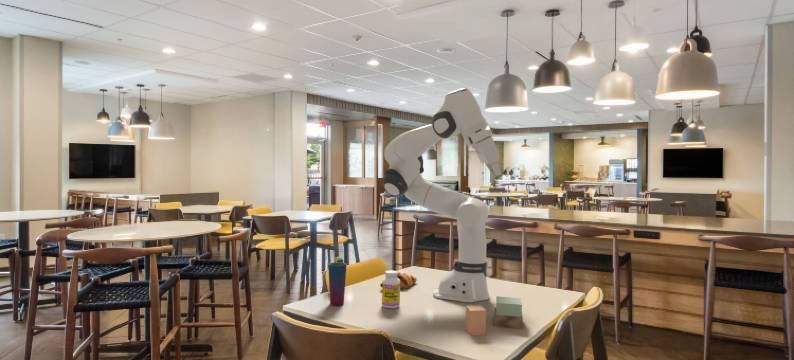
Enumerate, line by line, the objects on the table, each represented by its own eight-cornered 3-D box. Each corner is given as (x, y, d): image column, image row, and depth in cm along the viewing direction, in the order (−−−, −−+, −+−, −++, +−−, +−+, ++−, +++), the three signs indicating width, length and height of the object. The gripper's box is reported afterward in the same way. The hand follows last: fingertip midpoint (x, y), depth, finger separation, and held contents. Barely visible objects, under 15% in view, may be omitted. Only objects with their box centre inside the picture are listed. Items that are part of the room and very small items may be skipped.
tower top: (496, 315, 146) (496, 302, 146) (496, 308, 153) (496, 296, 153) (521, 317, 144) (521, 304, 144) (520, 309, 152) (520, 298, 152)
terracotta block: (469, 334, 138) (470, 310, 137) (465, 329, 143) (466, 305, 142) (485, 334, 138) (486, 310, 138) (480, 328, 143) (481, 305, 143)
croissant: (411, 289, 203) (405, 272, 206) (426, 282, 197) (420, 265, 199) (376, 297, 188) (371, 278, 191) (391, 290, 182) (386, 271, 184)
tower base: (493, 327, 145) (494, 315, 145) (494, 318, 154) (494, 307, 154) (522, 330, 143) (522, 317, 143) (521, 321, 152) (521, 309, 152)
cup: (328, 301, 170) (328, 262, 170) (346, 301, 171) (346, 262, 170) (327, 306, 163) (327, 266, 163) (345, 306, 164) (346, 265, 164)
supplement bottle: (381, 308, 162) (382, 273, 162) (382, 303, 169) (382, 269, 168) (399, 309, 162) (400, 273, 162) (399, 303, 169) (400, 269, 168)
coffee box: (333, 286, 192) (334, 256, 191) (340, 286, 192) (341, 256, 192) (336, 291, 184) (336, 260, 184) (343, 291, 185) (343, 259, 184)
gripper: (465, 141, 153) (483, 177, 154) (472, 138, 133) (492, 180, 133) (482, 132, 153) (500, 169, 153) (491, 128, 132) (511, 170, 133)
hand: (496, 174), depth 143 cm, fingers open, 8 cm apart
